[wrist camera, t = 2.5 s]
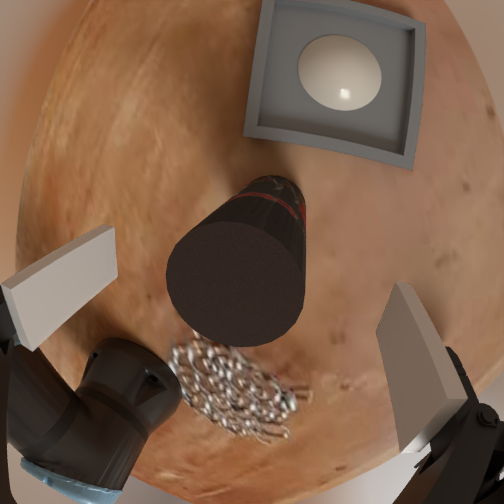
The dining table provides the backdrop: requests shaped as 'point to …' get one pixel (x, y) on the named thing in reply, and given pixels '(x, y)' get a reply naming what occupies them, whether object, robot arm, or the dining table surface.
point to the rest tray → (338, 79)
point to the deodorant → (244, 266)
